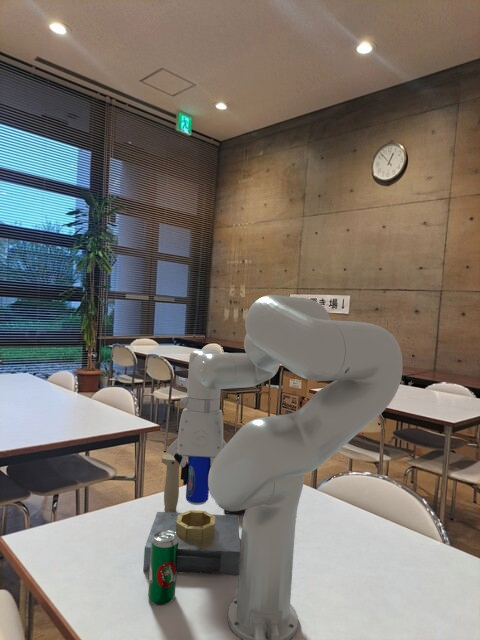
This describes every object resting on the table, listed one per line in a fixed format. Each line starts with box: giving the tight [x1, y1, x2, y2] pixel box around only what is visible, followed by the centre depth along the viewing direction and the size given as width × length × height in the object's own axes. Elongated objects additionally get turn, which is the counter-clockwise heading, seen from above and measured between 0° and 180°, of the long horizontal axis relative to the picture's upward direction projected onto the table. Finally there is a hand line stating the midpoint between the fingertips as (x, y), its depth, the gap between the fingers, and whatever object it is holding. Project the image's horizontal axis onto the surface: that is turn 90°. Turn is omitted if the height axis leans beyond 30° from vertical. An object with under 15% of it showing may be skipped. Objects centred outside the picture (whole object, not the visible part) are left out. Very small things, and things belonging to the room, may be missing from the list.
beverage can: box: [185, 456, 211, 506], centre depth 98 cm, size 5×5×15 cm
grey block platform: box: [142, 509, 241, 576], centre depth 97 cm, size 17×20×8 cm
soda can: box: [147, 530, 178, 606], centre depth 81 cm, size 5×5×12 cm
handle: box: [161, 453, 181, 513], centre depth 116 cm, size 5×6×15 cm
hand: (198, 482), depth 98 cm, fingers closed on beverage can, 5 cm apart
